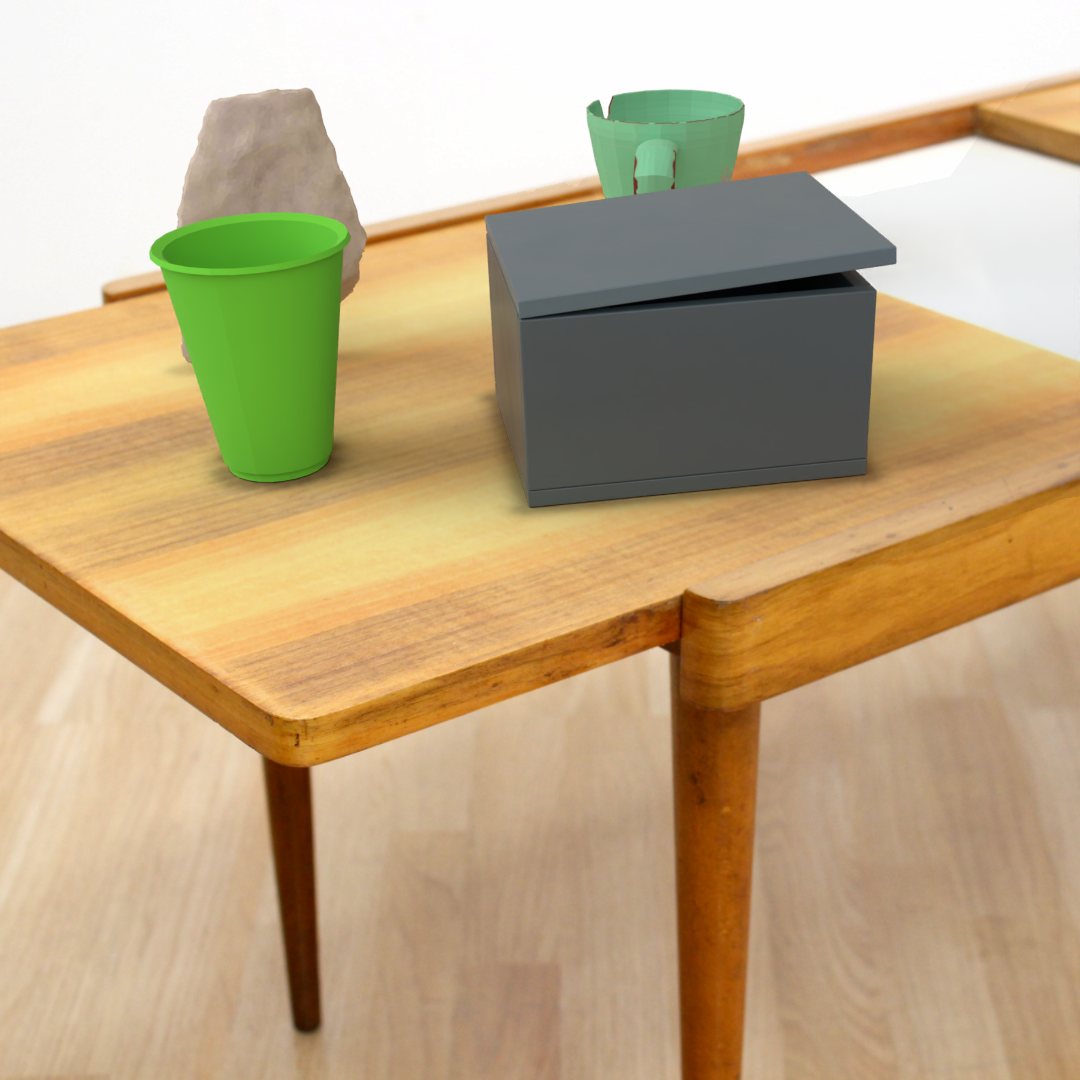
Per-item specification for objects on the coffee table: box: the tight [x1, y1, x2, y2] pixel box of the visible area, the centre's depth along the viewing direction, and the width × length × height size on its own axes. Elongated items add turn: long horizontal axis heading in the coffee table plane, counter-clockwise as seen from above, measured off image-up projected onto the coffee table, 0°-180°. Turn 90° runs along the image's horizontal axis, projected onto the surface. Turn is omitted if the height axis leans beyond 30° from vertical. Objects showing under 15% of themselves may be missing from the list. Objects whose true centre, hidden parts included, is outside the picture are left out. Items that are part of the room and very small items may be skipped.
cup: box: [148, 212, 351, 483], centre depth 73 cm, size 9×9×11 cm
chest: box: [485, 232, 878, 508], centre depth 74 cm, size 16×14×9 cm
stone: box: [176, 87, 368, 364], centre depth 84 cm, size 11×3×15 cm, turn 88°
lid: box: [484, 170, 898, 319], centre depth 72 cm, size 16×14×1 cm
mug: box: [585, 88, 746, 199], centre depth 96 cm, size 15×10×10 cm
